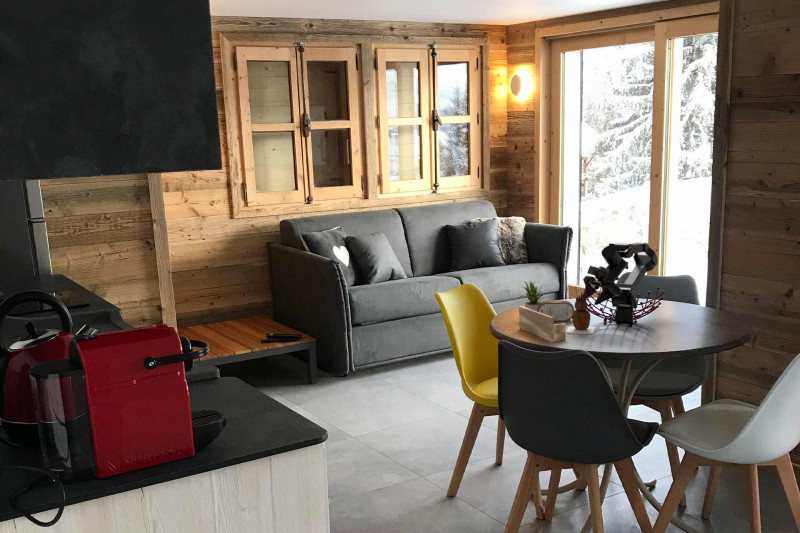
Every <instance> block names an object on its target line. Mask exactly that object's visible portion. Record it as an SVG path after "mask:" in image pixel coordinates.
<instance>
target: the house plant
mask: <svg viewBox="0 0 800 533" xmlns="http://www.w3.org/2000/svg"><path fill="white" fill-rule="evenodd" d="M536 280H537V279H536ZM536 280H535V281H533V282H532V281H531V280H529V284H528V283H527V282H526V281H525V280H523V282H524V284H525V286H522V284H518V285H519V286H518V287H523V289H524V292H526V293H525V295H521V294H520V295H519V297H518V299H519V298H522V297H523V298H524V297H526V299H528V300H527V302H524V307H526V308H529V309H531V310H534V311H537V308H538V306H539V304H540V303H542V301H541V300H542V299H544V298H545V294H543V293H542V291H541V290H542V289H543V286H544V284H542V285H541V286H540V288H539V290H538V286H535V283H536ZM547 286H548V284H546V285H545V287H547ZM542 296H543V297H542ZM541 297H542V298H541ZM546 298H549V297H547V296H546Z"/></svg>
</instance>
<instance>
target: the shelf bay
mask: <svg viewBox="0 0 800 533" xmlns="http://www.w3.org/2000/svg"><path fill="white" fill-rule="evenodd" d="M518 323H519V324H518V327H519V328H521V329H524V330H526V331H528V332H527V333H529V332H531V333H533V334H532V335H534V334H535V335H534V336H536V335H537V336H536V337H538V336H539V337H538V338H541V339H543V338H544V339H543V340H545V341H546V340H547V341H548V342H557V341H558V342H559V341H565V340H567V339H566V338H567V331H566V328H567V327H566V326H567V325H566V323H564V322H563V323H562V322H561V323H555V324H554V318H553V317H551V316H548V315H546V314H543V313H540V312H537V311H534V310H531V309H529V308H526V307H525V306H523V305H520V306H518ZM519 328H518V329H519ZM521 329H520V330H521ZM524 330H523V331H524ZM526 331H525V332H526ZM531 333H530V334H531Z"/></svg>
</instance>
